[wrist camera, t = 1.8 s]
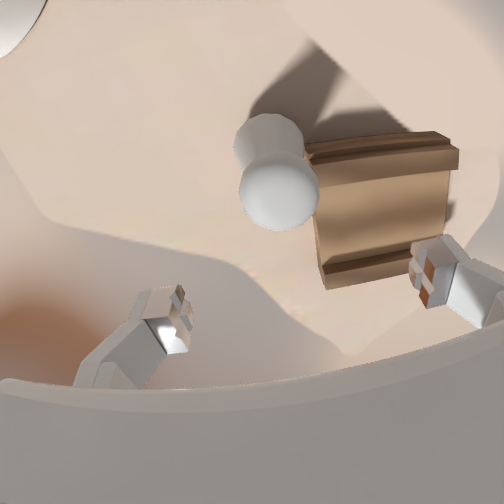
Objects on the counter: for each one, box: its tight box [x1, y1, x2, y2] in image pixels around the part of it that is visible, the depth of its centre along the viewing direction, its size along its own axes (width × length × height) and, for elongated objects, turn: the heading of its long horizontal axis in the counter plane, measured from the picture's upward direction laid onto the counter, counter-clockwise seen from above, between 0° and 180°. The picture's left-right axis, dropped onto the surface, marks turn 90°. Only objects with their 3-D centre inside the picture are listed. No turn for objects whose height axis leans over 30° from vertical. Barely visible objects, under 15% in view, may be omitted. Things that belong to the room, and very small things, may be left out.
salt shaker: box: [233, 114, 320, 231], centre depth 20 cm, size 6×6×13 cm
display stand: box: [304, 131, 459, 290], centre depth 27 cm, size 14×14×4 cm
